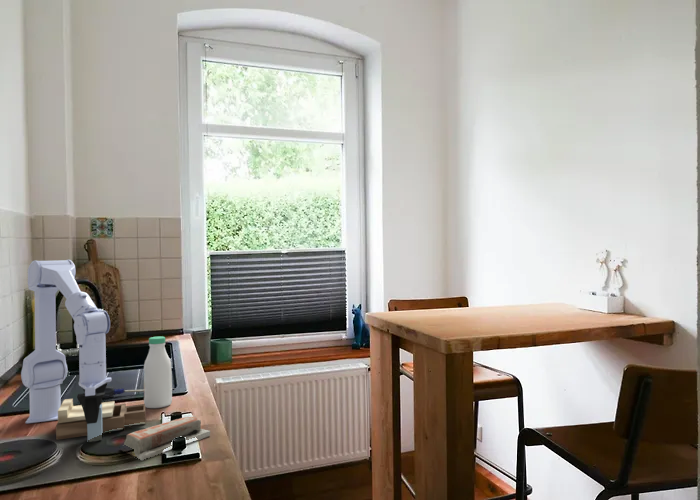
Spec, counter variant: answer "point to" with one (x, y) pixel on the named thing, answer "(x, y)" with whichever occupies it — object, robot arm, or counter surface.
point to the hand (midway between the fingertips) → (93, 418)
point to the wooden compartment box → (103, 421)
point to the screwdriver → (116, 391)
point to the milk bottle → (157, 375)
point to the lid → (80, 411)
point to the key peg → (95, 426)
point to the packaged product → (164, 436)
